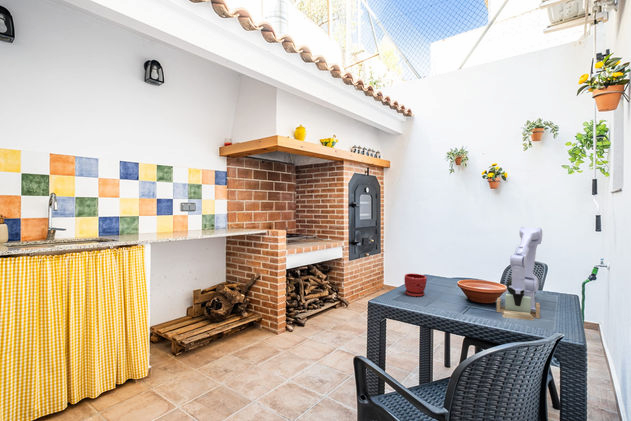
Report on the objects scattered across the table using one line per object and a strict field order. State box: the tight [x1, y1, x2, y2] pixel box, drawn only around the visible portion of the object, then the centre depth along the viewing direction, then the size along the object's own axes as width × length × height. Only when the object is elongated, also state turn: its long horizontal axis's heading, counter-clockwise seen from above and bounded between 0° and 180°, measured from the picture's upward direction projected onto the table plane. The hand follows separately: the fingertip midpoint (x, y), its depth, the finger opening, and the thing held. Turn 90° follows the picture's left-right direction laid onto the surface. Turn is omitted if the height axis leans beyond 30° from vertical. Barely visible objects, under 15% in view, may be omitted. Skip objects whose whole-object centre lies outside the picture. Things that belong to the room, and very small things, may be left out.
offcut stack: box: [501, 310, 535, 321], centre depth 162 cm, size 4×13×3 cm, turn 71°
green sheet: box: [504, 293, 532, 313], centre depth 168 cm, size 4×11×8 cm, turn 58°
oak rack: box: [496, 297, 541, 320], centre depth 168 cm, size 7×18×6 cm, turn 58°
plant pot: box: [404, 273, 427, 297], centre depth 202 cm, size 13×13×12 cm
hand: (517, 304), depth 168 cm, fingers closed on green sheet, 4 cm apart
